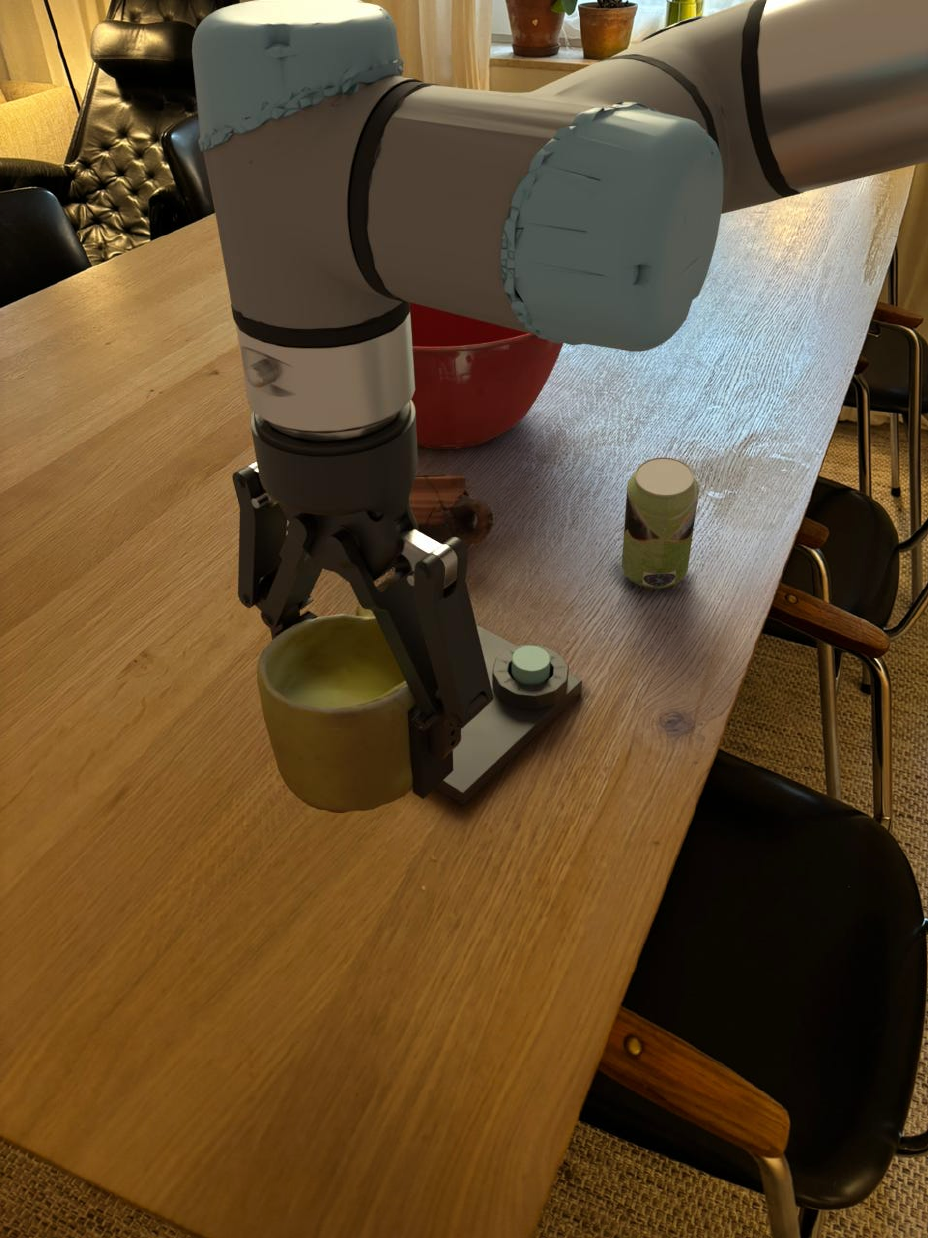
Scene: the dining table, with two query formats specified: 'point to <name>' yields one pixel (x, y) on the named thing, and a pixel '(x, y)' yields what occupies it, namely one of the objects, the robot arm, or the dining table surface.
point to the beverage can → (659, 522)
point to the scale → (506, 717)
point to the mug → (337, 713)
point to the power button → (530, 665)
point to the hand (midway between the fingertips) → (368, 741)
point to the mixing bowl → (473, 377)
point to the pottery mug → (449, 509)
